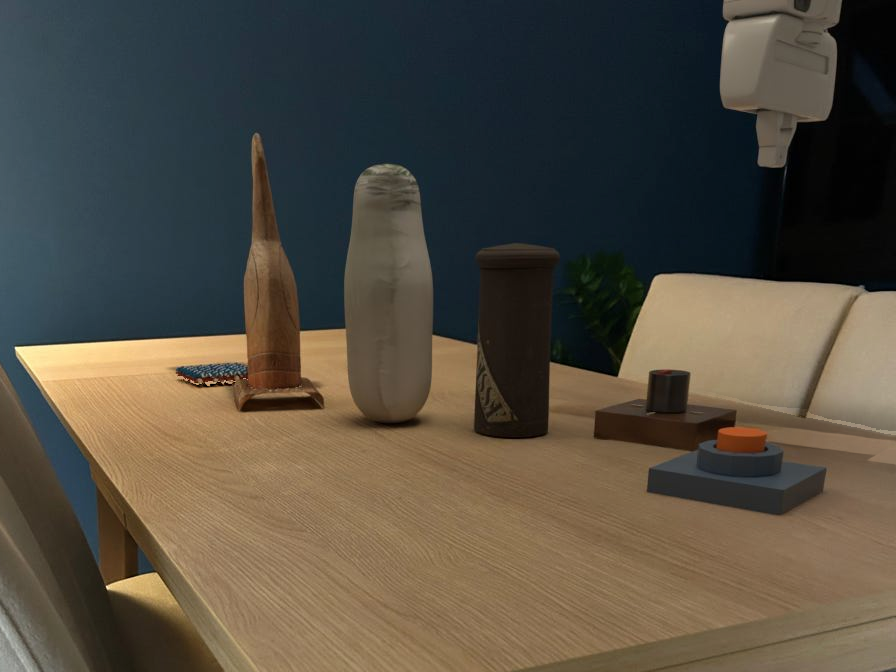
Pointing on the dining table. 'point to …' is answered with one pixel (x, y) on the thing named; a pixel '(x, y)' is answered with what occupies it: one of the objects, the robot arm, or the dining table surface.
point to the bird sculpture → (270, 302)
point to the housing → (738, 479)
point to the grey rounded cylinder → (388, 297)
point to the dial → (668, 391)
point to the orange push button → (741, 440)
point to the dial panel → (662, 425)
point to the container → (514, 340)
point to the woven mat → (214, 372)
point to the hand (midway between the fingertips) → (771, 166)
